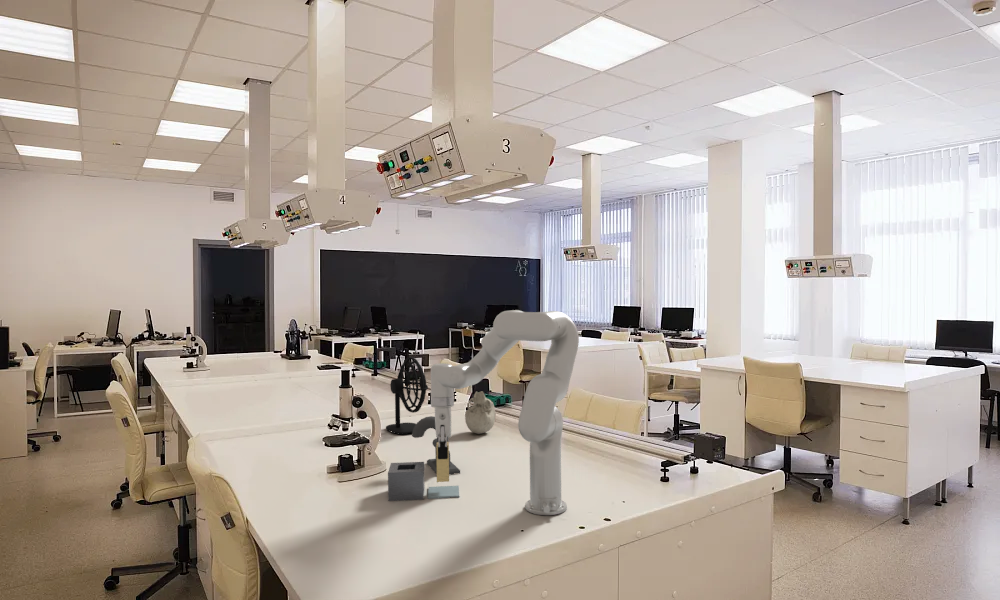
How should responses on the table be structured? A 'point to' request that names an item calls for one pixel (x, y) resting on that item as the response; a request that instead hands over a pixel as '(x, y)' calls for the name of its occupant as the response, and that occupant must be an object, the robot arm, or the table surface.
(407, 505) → the table surface
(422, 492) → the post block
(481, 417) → the skull
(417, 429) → the faucet
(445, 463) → the brass peg
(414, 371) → the desk fan
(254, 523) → the table surface
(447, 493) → the rubber pad
